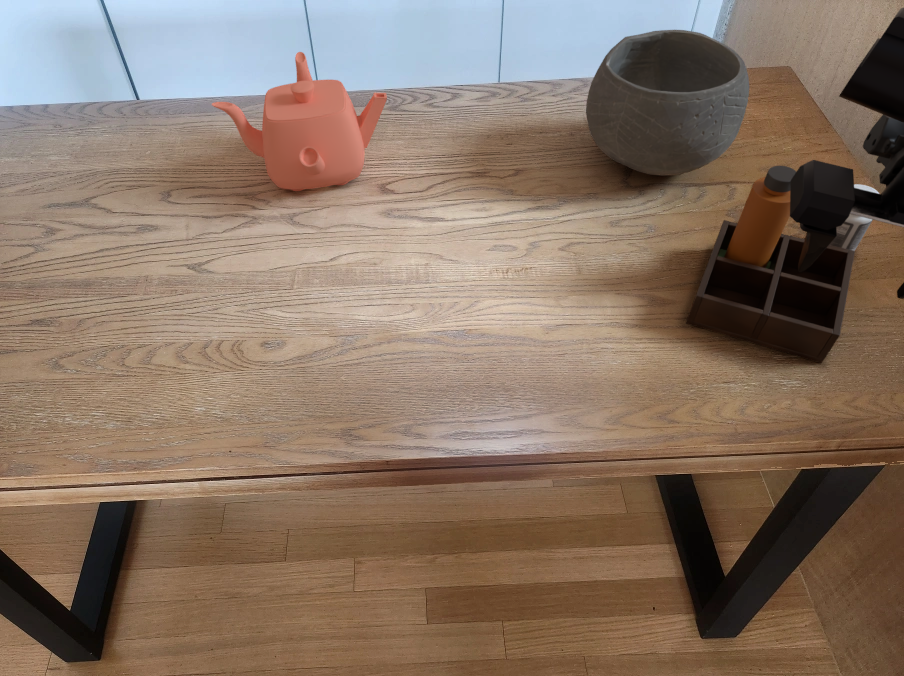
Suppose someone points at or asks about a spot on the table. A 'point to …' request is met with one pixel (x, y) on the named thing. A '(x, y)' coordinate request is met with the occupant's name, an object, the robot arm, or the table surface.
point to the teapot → (309, 131)
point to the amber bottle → (762, 218)
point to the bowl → (667, 101)
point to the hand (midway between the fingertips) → (848, 281)
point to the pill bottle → (853, 227)
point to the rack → (775, 297)
